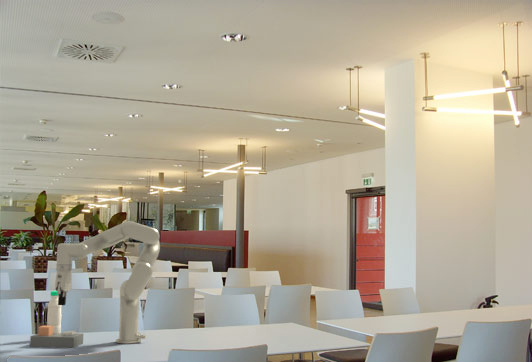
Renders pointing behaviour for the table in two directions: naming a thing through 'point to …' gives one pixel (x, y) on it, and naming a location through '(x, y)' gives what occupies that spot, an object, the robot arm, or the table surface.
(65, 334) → the grey button
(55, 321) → the water bottle
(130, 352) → the table surface
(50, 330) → the terracotta button
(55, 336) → the block
